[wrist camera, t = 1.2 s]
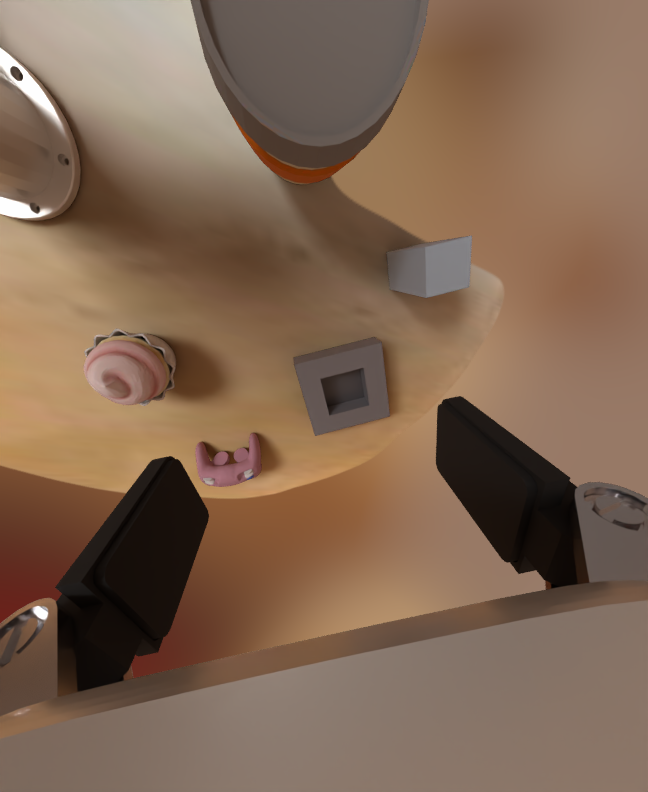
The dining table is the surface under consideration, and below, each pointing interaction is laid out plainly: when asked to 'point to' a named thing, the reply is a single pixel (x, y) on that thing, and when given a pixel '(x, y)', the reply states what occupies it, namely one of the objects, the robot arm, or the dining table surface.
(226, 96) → the reusable coffee cup
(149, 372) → the cupcake
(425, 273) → the plug
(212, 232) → the dining table surface
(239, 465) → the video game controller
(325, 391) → the socket
